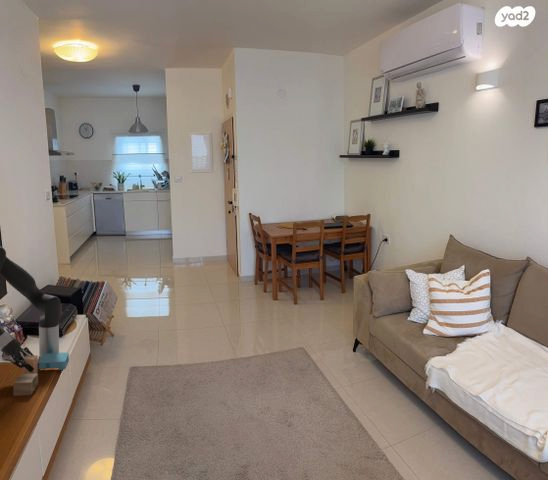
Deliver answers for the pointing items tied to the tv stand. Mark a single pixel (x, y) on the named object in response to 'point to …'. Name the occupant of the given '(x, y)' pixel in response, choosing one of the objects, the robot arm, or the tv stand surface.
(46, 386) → the tv stand surface
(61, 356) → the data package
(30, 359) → the terracotta block
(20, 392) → the grey brown block
